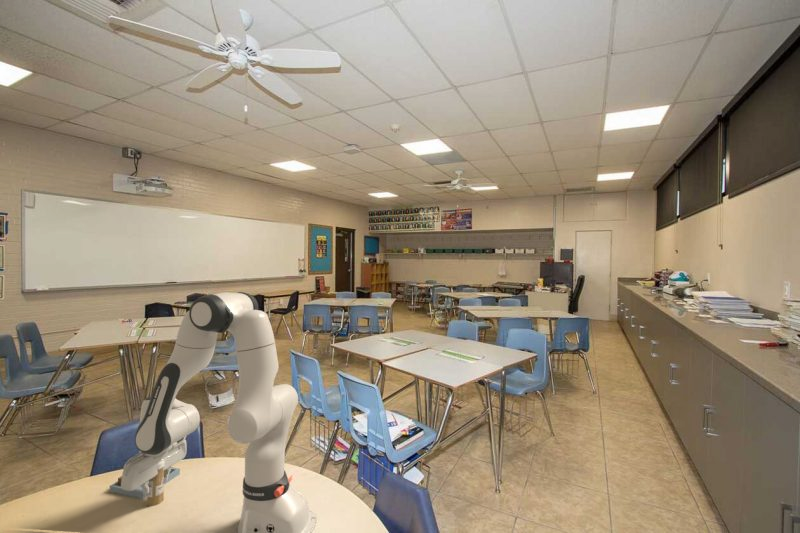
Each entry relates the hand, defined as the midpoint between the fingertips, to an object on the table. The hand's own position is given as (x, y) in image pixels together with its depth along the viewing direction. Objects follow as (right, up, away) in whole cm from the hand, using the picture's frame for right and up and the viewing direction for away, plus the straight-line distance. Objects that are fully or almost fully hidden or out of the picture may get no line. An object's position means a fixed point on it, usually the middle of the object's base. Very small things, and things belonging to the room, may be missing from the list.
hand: (155, 487), depth 112 cm
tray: (-10, -5, +10) cm, 15 cm away
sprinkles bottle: (0, -5, 0) cm, 5 cm away
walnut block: (-14, -4, +7) cm, 17 cm away
